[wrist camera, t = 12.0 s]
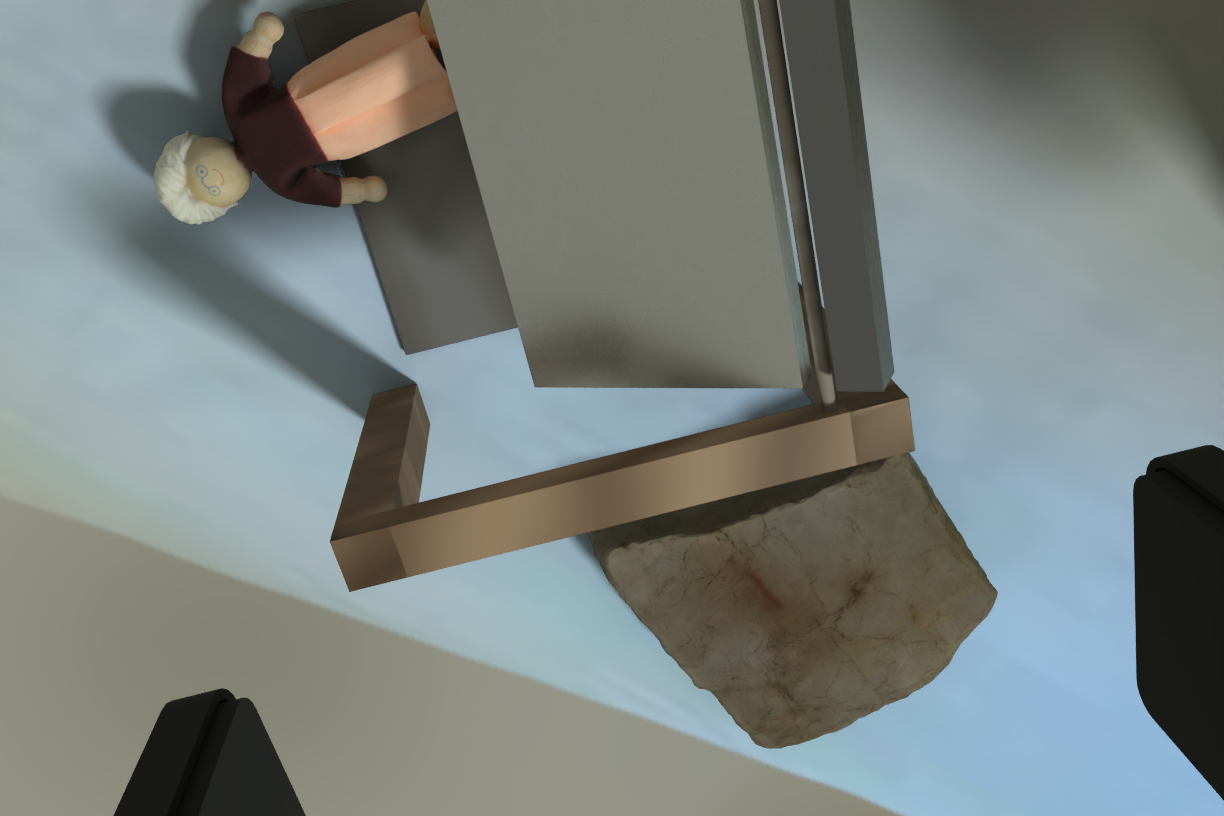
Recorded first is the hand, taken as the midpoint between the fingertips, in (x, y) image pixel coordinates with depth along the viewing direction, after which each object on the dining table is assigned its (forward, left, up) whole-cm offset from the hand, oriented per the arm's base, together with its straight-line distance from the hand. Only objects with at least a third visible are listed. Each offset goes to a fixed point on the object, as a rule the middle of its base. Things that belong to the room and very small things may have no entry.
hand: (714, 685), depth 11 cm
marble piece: (-7, +22, -35) cm, 42 cm away
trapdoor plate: (-3, 0, -25) cm, 25 cm away
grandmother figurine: (+2, -5, -32) cm, 33 cm away
